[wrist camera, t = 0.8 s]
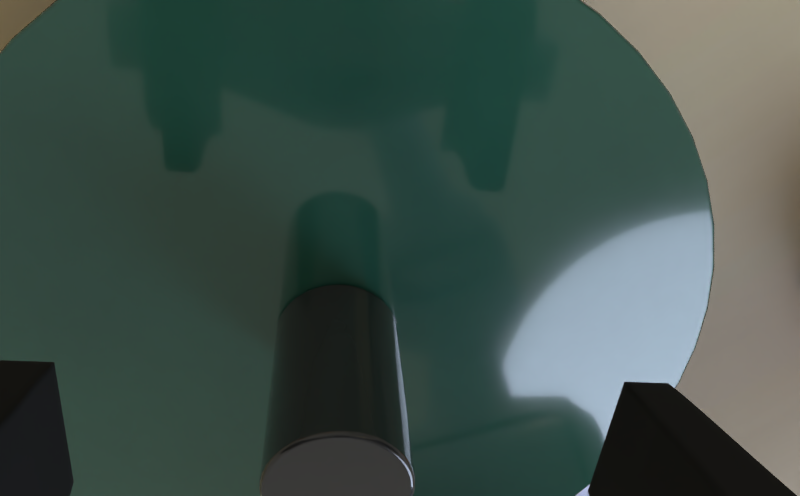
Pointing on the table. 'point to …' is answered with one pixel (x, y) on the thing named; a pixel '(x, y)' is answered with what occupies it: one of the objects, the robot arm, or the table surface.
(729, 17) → the table surface
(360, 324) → the pot lid
